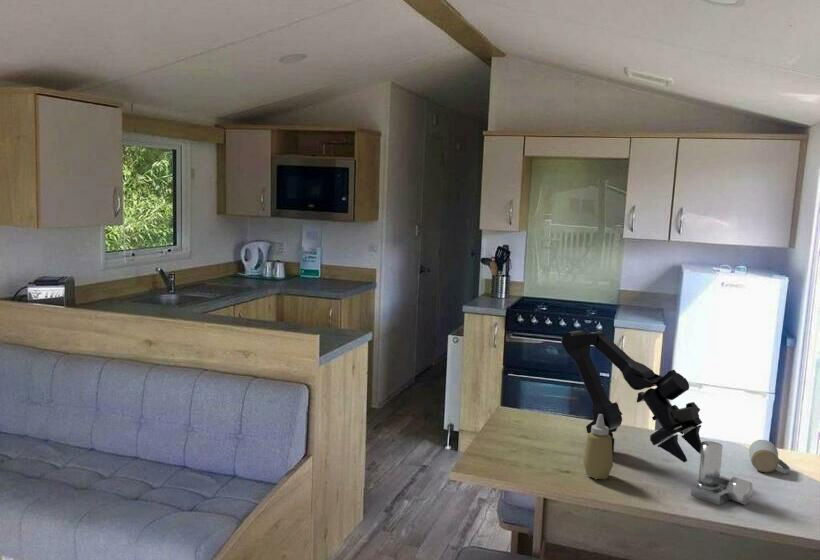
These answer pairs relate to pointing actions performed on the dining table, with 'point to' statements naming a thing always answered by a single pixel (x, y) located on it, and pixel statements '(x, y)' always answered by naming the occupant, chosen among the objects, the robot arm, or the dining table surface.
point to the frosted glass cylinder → (710, 466)
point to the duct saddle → (726, 491)
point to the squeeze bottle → (598, 451)
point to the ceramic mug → (766, 457)
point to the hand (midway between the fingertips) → (694, 457)
